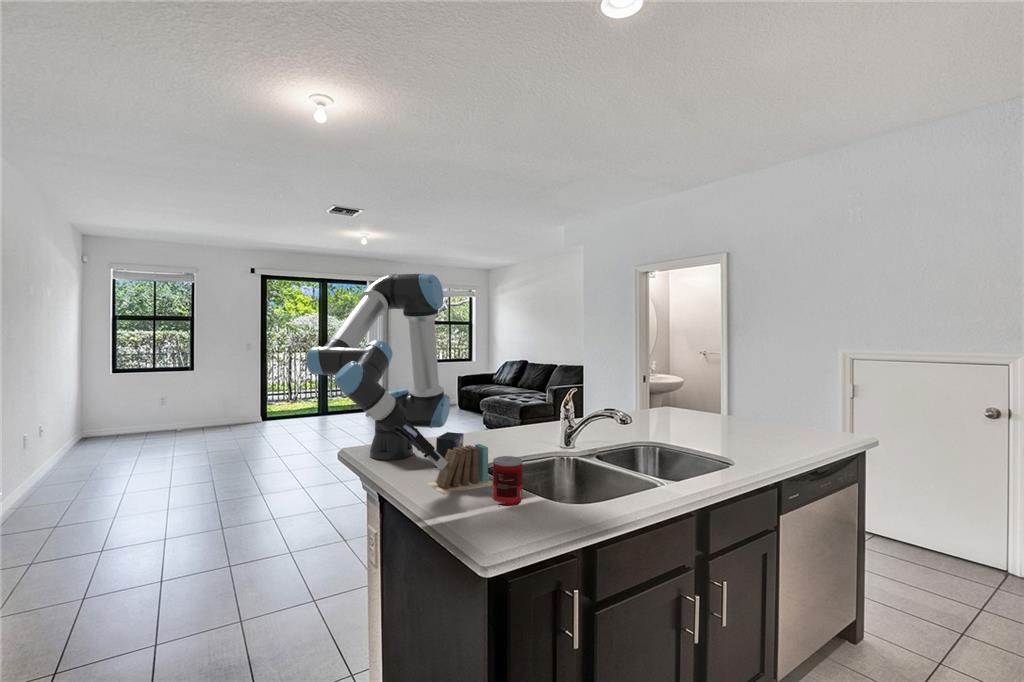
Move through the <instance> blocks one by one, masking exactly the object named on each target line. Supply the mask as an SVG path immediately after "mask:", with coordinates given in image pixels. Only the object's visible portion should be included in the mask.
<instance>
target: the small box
mask: <svg viewBox="0 0 1024 682" xmlns="http://www.w3.org/2000/svg"><path fill="white" fill-rule="evenodd" d="M435 440H436V442H435V443H436V444H435V445H436V446H435V450H436V451H437V452H438V453H439V454H440V455H441V456H442V457H443V458H444V459H445V456H446V454H447V451H448V449H450V450H453V448H454V447H456V448H459V446H464V432H463V433H462V432H451V431H447V432H445V433H442V434H441V435H439V436H438V437H436V439H435ZM435 468H438V467H437V466H436V465H435ZM438 469H439V468H438Z"/></svg>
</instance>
